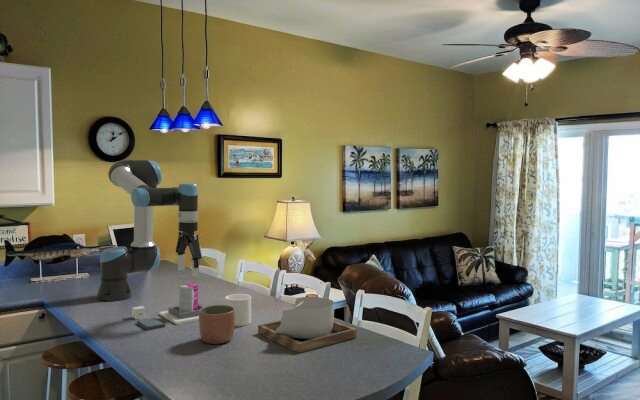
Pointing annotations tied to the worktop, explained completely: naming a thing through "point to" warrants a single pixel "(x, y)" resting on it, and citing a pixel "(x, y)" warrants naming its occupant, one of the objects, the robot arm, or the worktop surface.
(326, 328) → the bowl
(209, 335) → the planter
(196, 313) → the plate
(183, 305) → the supplement box
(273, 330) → the wooden tray
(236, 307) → the mug
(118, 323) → the worktop surface
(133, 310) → the white cube
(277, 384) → the worktop surface
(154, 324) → the phone
